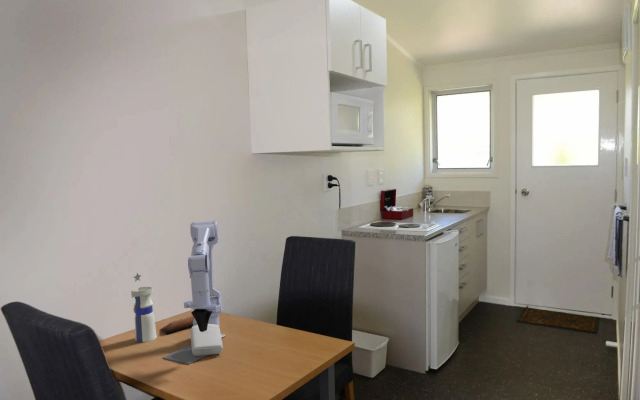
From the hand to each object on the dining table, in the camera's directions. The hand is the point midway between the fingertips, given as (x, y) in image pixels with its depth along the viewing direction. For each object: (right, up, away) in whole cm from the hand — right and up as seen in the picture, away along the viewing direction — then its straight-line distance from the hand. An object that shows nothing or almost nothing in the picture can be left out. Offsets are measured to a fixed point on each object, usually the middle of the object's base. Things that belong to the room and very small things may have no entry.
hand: (203, 330), depth 158 cm
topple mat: (-6, -9, +4) cm, 12 cm away
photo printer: (+1, -7, +1) cm, 7 cm away
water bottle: (-28, -10, +23) cm, 37 cm away
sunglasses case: (-17, -9, +35) cm, 40 cm away
